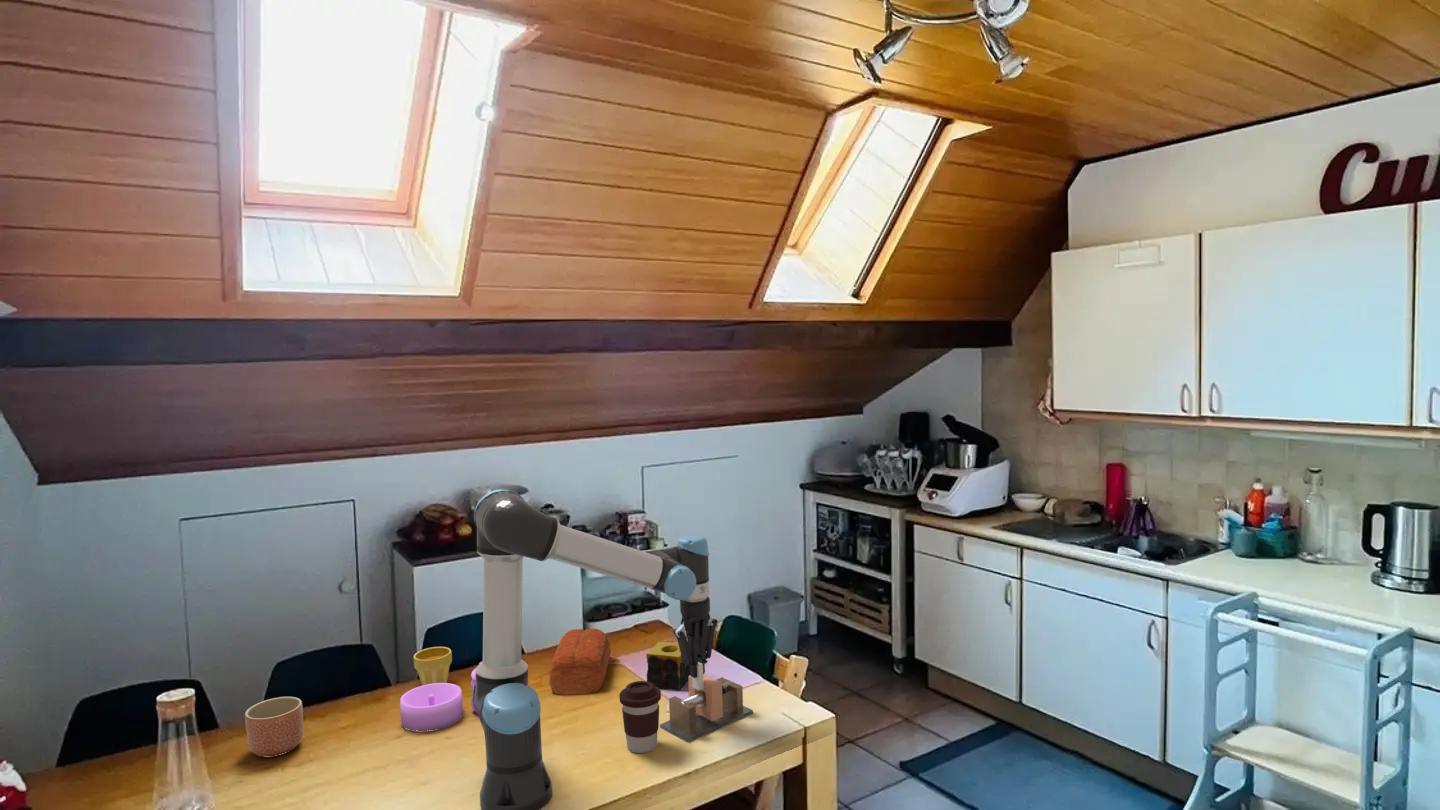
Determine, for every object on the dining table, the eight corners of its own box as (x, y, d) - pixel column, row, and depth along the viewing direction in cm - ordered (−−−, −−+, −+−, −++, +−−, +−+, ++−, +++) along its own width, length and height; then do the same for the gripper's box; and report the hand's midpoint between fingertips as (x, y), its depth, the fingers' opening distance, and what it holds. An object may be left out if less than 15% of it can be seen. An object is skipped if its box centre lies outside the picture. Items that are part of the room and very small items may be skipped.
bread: (612, 656, 258) (611, 623, 257) (603, 694, 231) (602, 657, 230) (561, 658, 257) (560, 625, 256) (547, 696, 230) (545, 659, 229)
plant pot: (413, 682, 242) (411, 650, 241) (450, 675, 246) (449, 643, 245) (417, 696, 232) (415, 662, 231) (455, 689, 237) (453, 655, 236)
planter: (315, 744, 206) (312, 702, 205) (267, 768, 195) (263, 723, 194) (286, 733, 212) (283, 692, 211) (237, 755, 202) (233, 712, 201)
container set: (399, 736, 209) (396, 685, 208) (403, 710, 224) (400, 663, 223) (501, 720, 217) (499, 671, 215) (499, 696, 231) (497, 650, 230)
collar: (712, 721, 208) (711, 686, 208) (689, 709, 215) (688, 676, 214) (722, 716, 211) (721, 682, 210) (699, 705, 217) (698, 672, 217)
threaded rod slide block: (687, 742, 202) (686, 711, 201) (660, 727, 210) (659, 697, 209) (752, 712, 217) (752, 683, 216) (724, 699, 225) (723, 671, 224)
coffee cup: (656, 758, 195) (654, 696, 194) (616, 755, 197) (613, 694, 196) (667, 737, 205) (665, 679, 203) (628, 735, 207) (626, 676, 205)
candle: (646, 688, 234) (644, 653, 233) (659, 673, 243) (657, 640, 242) (680, 691, 231) (679, 657, 230) (691, 677, 240) (690, 643, 239)
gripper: (684, 607, 201) (687, 700, 203) (724, 594, 210) (726, 684, 212) (665, 600, 207) (668, 691, 209) (704, 588, 216) (707, 676, 218)
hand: (698, 688), depth 211 cm, fingers closed
